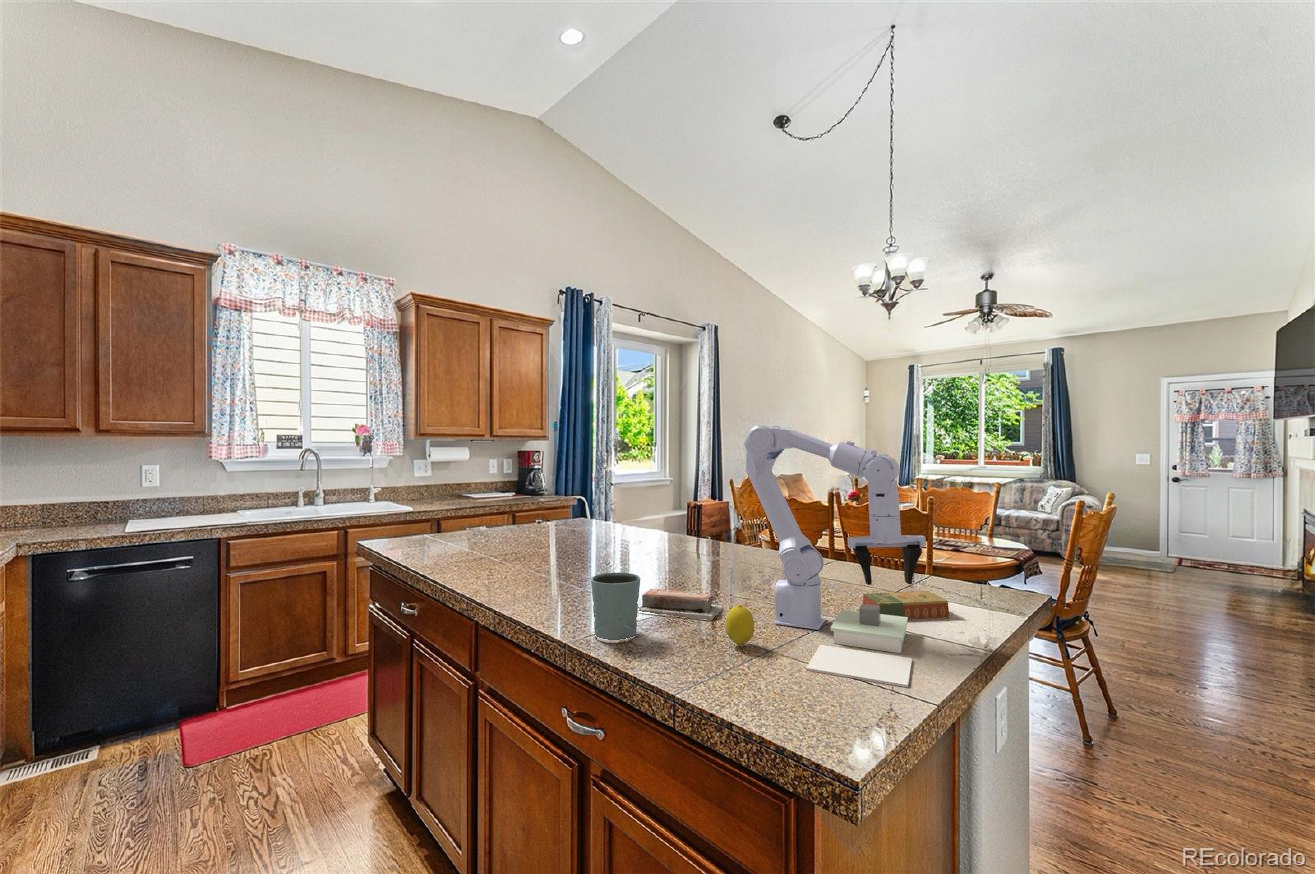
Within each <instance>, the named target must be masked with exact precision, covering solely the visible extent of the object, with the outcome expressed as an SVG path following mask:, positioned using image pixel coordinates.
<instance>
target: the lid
mask: <svg viewBox="0 0 1315 874" xmlns="http://www.w3.org/2000/svg"><path fill="white" fill-rule="evenodd" d="M858 610H859V611H858ZM858 610H857V611H856V610H848V609H841V610H840V611H839V613H838V615H837V616H836V618H835V619H834V622H832V624H831V626H830V632H834V631H835V632H842V633H850V634H857V635H864V636H872V637H879V638H886V639H893V640H901V641H905V637H906V631H907V625H908V621H909V619H908V617H901V616H892V615H884V614H880V606H875V605H866V604H863V603H861V604H860V606H859V608H858ZM904 636H905V637H904Z"/></svg>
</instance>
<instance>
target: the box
mask: <svg viewBox="0 0 1315 874" xmlns="http://www.w3.org/2000/svg"><path fill="white" fill-rule="evenodd" d="M905 637H906V635H905V636H904V638H905ZM904 641H905V640H904ZM904 641H901V640H893V639H886V638H879V637H872V636H864V635H857V634H850V633H842V632H835V631H833V644H835V645H843V646H850V647H857V648H865V649H870V650H876V651H884V652H890V653H898V654H902V650H903V645H904Z"/></svg>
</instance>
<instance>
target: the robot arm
mask: <svg viewBox="0 0 1315 874" xmlns="http://www.w3.org/2000/svg"><path fill="white" fill-rule="evenodd" d="M743 445H744V448H745V450H746V451H745V457H746V458H745V472H746V473H747V477H748V478H749V480H750V482H751V485H752V486H753V489H754V491H755V493H756V496H757V498H758V500H759V502H760V504H761V506H762V508H763V510H764V512H765V514H766V517H767V519H768V521H769V524H770V525H771V528H772V529H773V532H774V534H775V536H776V538H777V540H778V542H779V549H778V555H779V558H780V560H781V571H782V574H783V575H784V577H785V579H778V580H777V581H776V584H775V591H774V606H775V607H774V608H775V610H774V611H775V621H774V624H775V625H780V626H781V625H782V626H788V627H796V628H803V629H804V628H805V629H810V630H818V631H819V630H821V627H822V626H823V625H824V623H825V622H826V620H827V617H826V616H822V593H821V592H822V589H821V588H822V585H821V582H822V581H821V578H820V576H819V575H820V573H821V572H822V570H823V568H824V558H823V556H822V554H821V553H820V551H818V550H817V549H816V548H815V547H814V546H813V544H812V542H811V540H810V539H809V538H808V537H806V535H804V534H803V533H802V531H801V529H800V527H799V525H798V523H797V520H796V518H795V517H794V514H793V512H792V509H791V508H790V505H789V504H788V501H787V500H786V498H785V495H784V493H783V491H782V489H781V487H780V485H779V483H778V481H777V479H776V476H775V475H774V473H773V471H772V470H773V468H774V465H775V463H776V461H777V459H778V457H779V456H781V454H782V453H783V452H784V450H786V449H797V450H799V451H803V452H807V453H809V454H811V455H812V454H813V455H816V456H818V457H822V458H824V459H827V460H828V461H829V463H830V465H831V467H832V468H834V469H837V470H839V471H843V472H845V473H848V474H851V475H854V476H855V477H856V476H857V477H859V478H864V479H865V480H866V481H867V489H868V490H867V497H868V498H867V499H868V500H867V501H868V518H869V519H868V520H869V532H870V533H869V535H865V536H864V535H863V536H853V537H851V536H850V537H849V536H848V537H847V547H848V548H849V549H852V550H853V553H854V555H855V556H856V559H857V561H858V562H859V565H860V567H861V569H862V570H861V571H862V573H863V576H864V582H865V584H867V586H872V584H873V583H872V582H873V581H872V572H871V559H872V558H871V557H872V555H871V554H872V553H871V552H870V550H869V549H870V548H890V547H891V548H893V547H894V548H896V547H901V551H902V552H901V553H902V559H903V566H904V567H903V569H904V570H903V572H904V573H903V576H904V582H905V583H906V584H908V585H912V584H913V578H914V573H915V569H916V567H917V564H918V562H919V559H920V557H921V556H922V553H923V548H925V547H926V545H927V541H926V536H924V535H911V534H910V535H907V534H906V535H904V534H903V535H902V530H901V528H902V527H901V511H900V498H899V497H900V493H899V491H898V487H899V486H898V479H897V478H898V476H899V474H900V464H899V463H898V461H897V460H896V459H895V458H893V457H892V456H890V455H889V454H879V455H878V450H875V449H873V448H872V449H870V450H868V449H865V448H862V447H860V446H857V445H855V441H851V440H847V441H846V442H845V441H840V442H837V443H834V444H832V443H830V442H827V441H825V440H822V439H819V438H816V437H814V436H811V435H809V434H806V433H804V432H801V431H799V430H796V429H792V428H791V429H790V428H784V427H780V426H778V425H772V426H769V425H768V426H766V425H761V424H758V425H755V426H754V427H752V428H751V429H750V430H749V431H748V432H747V436H746V438H745V440H744V442H743ZM922 547H923V548H922Z"/></svg>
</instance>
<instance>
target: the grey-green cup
mask: <svg viewBox="0 0 1315 874" xmlns="http://www.w3.org/2000/svg"><path fill="white" fill-rule="evenodd" d="M590 584H591V585H590V586H591V596H592V603H593V604H592V612H593V618H594V621H593V624H594V625H593V626H594V629H593V630H594V636H595V635H596V636H597V637H599V638H603V639H608V640H620V639H626V638H630V637H633V636H635V634H636V635H637V630H638V628H637V627H638V622H637V621H638V619H637V618H638V614H639V612H638V611H639V604H638V601H639V598H640V587H641V577H640V576H639V575H637V574H635V573H629V572H606V573H599V574H596V575H592V577H591V578H590ZM635 637H636V636H635Z"/></svg>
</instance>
